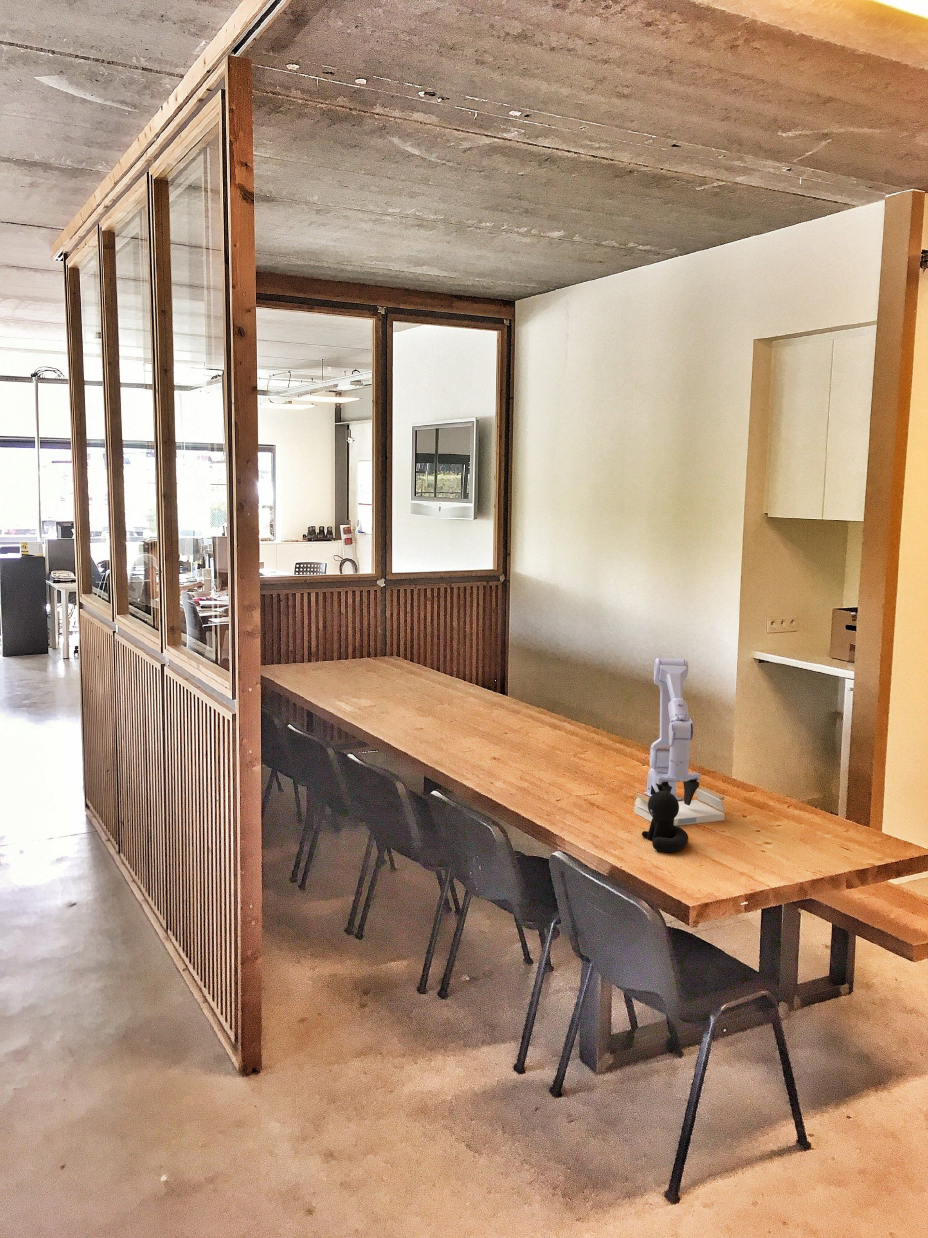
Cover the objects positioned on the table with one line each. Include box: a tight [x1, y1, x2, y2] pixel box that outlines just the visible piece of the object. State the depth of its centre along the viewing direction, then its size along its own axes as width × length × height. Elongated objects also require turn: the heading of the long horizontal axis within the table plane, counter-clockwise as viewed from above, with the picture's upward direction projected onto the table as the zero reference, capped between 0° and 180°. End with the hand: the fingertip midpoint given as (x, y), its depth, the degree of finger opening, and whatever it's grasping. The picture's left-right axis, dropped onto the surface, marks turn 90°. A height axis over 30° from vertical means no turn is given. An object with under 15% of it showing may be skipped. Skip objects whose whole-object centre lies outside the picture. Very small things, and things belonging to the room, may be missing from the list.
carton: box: [633, 799, 725, 827], centre depth 300 cm, size 14×22×2 cm, turn 112°
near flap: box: [634, 792, 650, 812], centre depth 296 cm, size 13×4×2 cm
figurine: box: [641, 784, 689, 853], centre depth 276 cm, size 16×14×15 cm
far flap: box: [695, 786, 726, 813], centre depth 304 cm, size 13×4×2 cm
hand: (676, 805), depth 300 cm, fingers open, 7 cm apart
